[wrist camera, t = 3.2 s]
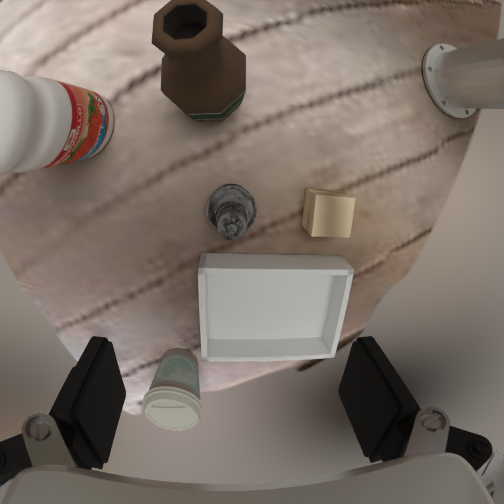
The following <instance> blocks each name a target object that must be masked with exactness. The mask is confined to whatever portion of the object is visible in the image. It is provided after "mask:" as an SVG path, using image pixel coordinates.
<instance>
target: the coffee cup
mask: <svg viewBox="0 0 504 504" xmlns="http://www.w3.org/2000/svg"><path fill="white" fill-rule="evenodd" d="M143 401H144V402H143V405H144V408H145V413H146V416H147V417H148V419H149V420H150V421H152V422H153V423H154V424H156V425H157V426H160V427H162V428H165V429H168V430H176V431H180V430H187V429H189V428H192V427H193V426H195V425H196V424H197V422H198V420H199V418H200V417H201V415H202V411H203V406H202V404H201V402H200V391H199V378H198V364H197V359H196V357H195V356H194V355H193V354H192V353H191V352H189V351H187V350H184V349H171V350H169V351H167V352H166V353H165V354H164V356H163V359H162V361H161V363H160V365H159V368H158V370H157V372H156V375H155V377H154V379H153V382H152V384H151V387H150V389H149V391H148V392H147V393H146V394H145V396H144V399H143Z"/></svg>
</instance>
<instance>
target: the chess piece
mask: <svg viewBox="0 0 504 504" xmlns="http://www.w3.org/2000/svg"><path fill="white" fill-rule="evenodd" d="M256 210H257V209H256V203H255V200H254V198H253V196H252V195H251V194H250V193H249V192H248V191H247V190H246V189H244V188H243V187H241V186H239V185H236V184H226V185H223V186H221V187H219V188H218V189H217V190H216V191H215V192H214V193H213V194H212V195H211V196H210V198H209V200H208V202H207V205H206V214H207V218H208V220H209V222H210V224H211V225H212V226H213V227H214V228H215V229H216V230H218V231H219V233H220V235H221V236H222V237H223V238H225V239H227V240H237V239H239V238H240V237H242V236H243V234H244V233H245V231H246V229H247V228H249V227H250V226H251V224H252V223H253V222H254V219H255V217H256Z"/></svg>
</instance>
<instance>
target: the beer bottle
mask: <svg viewBox="0 0 504 504" xmlns="http://www.w3.org/2000/svg"><path fill="white" fill-rule="evenodd" d="M222 30H223V14H222V13H221V12H220V11H219V10H218V9H217V8H216V7H214V6H213V5H212V4H210V3H209V2H208V1H206V0H171V1H170V2H168V3H167V4H166V5H165V6H164V7H162V8H161V9H160V10H159V11H158V12H157V13H155V14H154V21H153V33H152V44H153V45H155V46H156V47H157V48H158V49H160V50H161V51H162V52H163V53H165V55H164V57H163V58H162V70H161V91H162V92H163V93H164V95H166V96H167V97H168V98H169V99H170V100H171V101H172V102H174V103H175V104H176V105H177V106H178V107H179V108H180V109H181V110H183V111H184V112H185V113H186V114H187V115H188V116H190V117H191V118H193V119H194V120H196V121H197V122H205V121H223V120H224V119H225V118H226V117H228V116H229V115H230V114H231V113H232V112H233V111H234V110H235V109H236V108H237V107H238V106H239V105H240V104H241V103H242V100H243V97H244V94H245V91H246V55H245V54H244V53H243V52H242V51H240V50H239V49H238V48H237V47H236V46H234V45H233V44H232V43H231V42H230V41H228V40H227V39H226V38H225V37H224V36H222Z"/></svg>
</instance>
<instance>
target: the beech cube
mask: <svg viewBox="0 0 504 504" xmlns="http://www.w3.org/2000/svg"><path fill="white" fill-rule="evenodd" d="M354 205H355V198H354V197H352V196H350V195H348V194H346V193H344V192H342V191H335V190H323V189H309V188H305V199H304V210H303V220H302V226H303V227H304V228H305V229H306V230H307V232H308V233H309V234H310V235H311V236H314V237H341V238H350V234H351V227H352V220H353V213H354Z"/></svg>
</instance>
